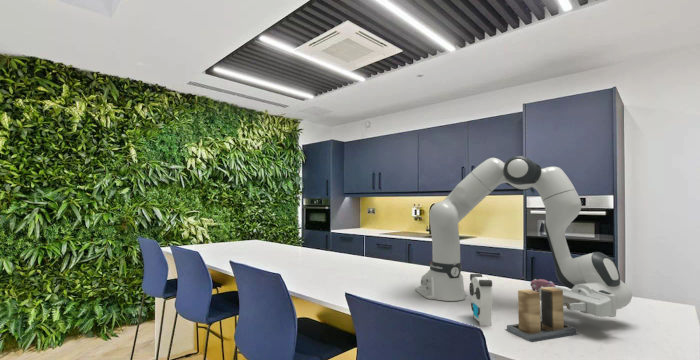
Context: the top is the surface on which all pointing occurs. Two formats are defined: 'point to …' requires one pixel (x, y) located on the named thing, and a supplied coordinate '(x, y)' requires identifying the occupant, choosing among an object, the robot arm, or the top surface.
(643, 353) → the top surface
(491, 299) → the panda figurine
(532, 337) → the dark grey tray
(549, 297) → the oak finger
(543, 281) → the video game controller
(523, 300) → the block
